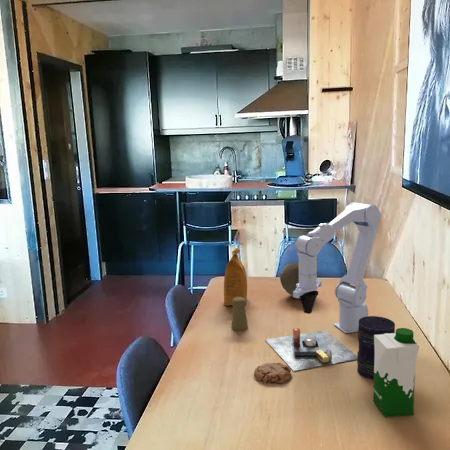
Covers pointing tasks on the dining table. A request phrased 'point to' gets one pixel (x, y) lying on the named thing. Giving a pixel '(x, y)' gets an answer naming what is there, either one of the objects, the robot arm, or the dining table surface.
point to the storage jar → (370, 342)
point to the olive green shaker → (239, 314)
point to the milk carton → (395, 372)
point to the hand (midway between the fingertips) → (307, 312)
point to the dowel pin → (329, 354)
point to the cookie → (272, 373)
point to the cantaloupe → (290, 277)
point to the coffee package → (234, 279)
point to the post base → (303, 362)
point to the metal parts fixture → (312, 351)
